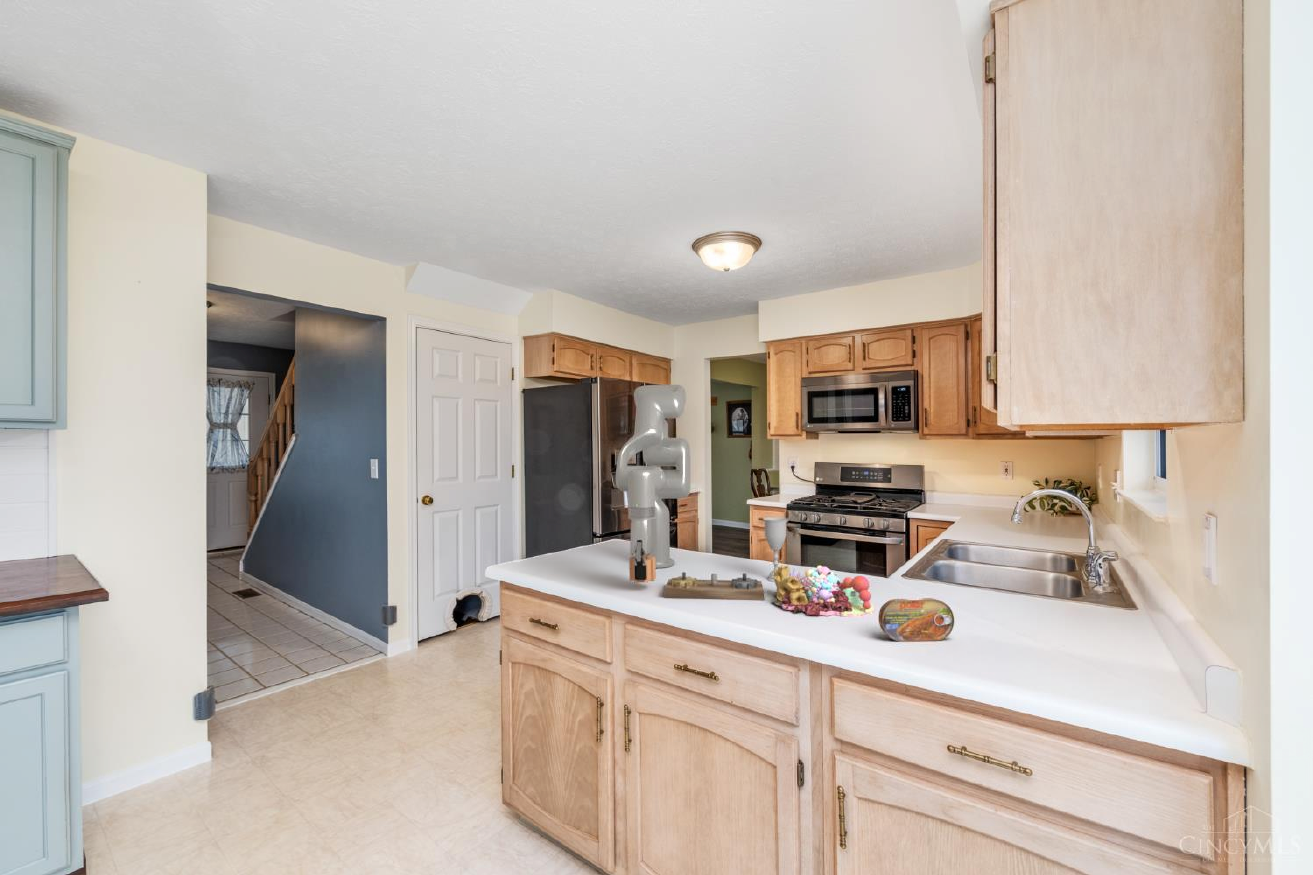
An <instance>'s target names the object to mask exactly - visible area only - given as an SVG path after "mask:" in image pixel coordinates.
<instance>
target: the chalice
mask: <svg viewBox="0 0 1313 875" xmlns="http://www.w3.org/2000/svg"><path fill="white" fill-rule="evenodd" d="M762 520H763V523H764V536H765V537H764V538H765V539H766V542H767V544H768V546H769V548H770V550H772V551H773V556H772V558H773V562H772V564H773V566H774V567H773V570H772V571H770V572H769V574H768V577H767V579H766V580H767V581H769V582H773V583H775V581H774V578H773V577H774V571H775V570H776V569H778V567H779V564H780V563H779V561H778V560H779V554H778V552H779V551H781V549H782V547H783V545H784V543H785V540H786V538H787V522H788V520H789V518H786V517H777V516H775V517H770V516H769V517H763V518H762Z"/></svg>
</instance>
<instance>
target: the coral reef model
mask: <svg viewBox="0 0 1313 875" xmlns="http://www.w3.org/2000/svg"><path fill="white" fill-rule="evenodd" d="M773 571H774V570H773ZM773 578H774V581H775V582H774V583H775V586H776V591H775V592H773V594H772V595H774V596H775V598H774V599H772V600H771V602H772V603H774V604H775V605H777V606H779V607H781V608H782V609H783V610H786V611H787V610H788V611H793V613H794V614H796V613H798V612H804V613H806V616H826V617H828V616H838V617H839V616H840V617H842V618H843V617H846V618H847V617H851V618H854V617H866V616H871V615H872V614H873V613H875V611H876V609H875V608H876V607H875V606H874V603H872V601H870V600H871V598H872V594H871V592H870V591H869V588H870V582H869V580H868V578H866V577H865V576H863V575H856V576H854V578H852V577H850V576H849V577H848V576H847V577H844V578H843V580H842V582H841V580H840V578H838V577H837V575H836V574H835V573H834V572H833V571H831V570H830V568H828V566H822V565H817V567H811V568H810V569H807V570H804V573H803V574H802V576H801V570H799V572H798V574H796V569H795V568H794V569H793V571H792V570H790V567H789V565H785V564H781V565H780V566H779V565H778V569H776V570H775V571H774V577H773Z"/></svg>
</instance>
